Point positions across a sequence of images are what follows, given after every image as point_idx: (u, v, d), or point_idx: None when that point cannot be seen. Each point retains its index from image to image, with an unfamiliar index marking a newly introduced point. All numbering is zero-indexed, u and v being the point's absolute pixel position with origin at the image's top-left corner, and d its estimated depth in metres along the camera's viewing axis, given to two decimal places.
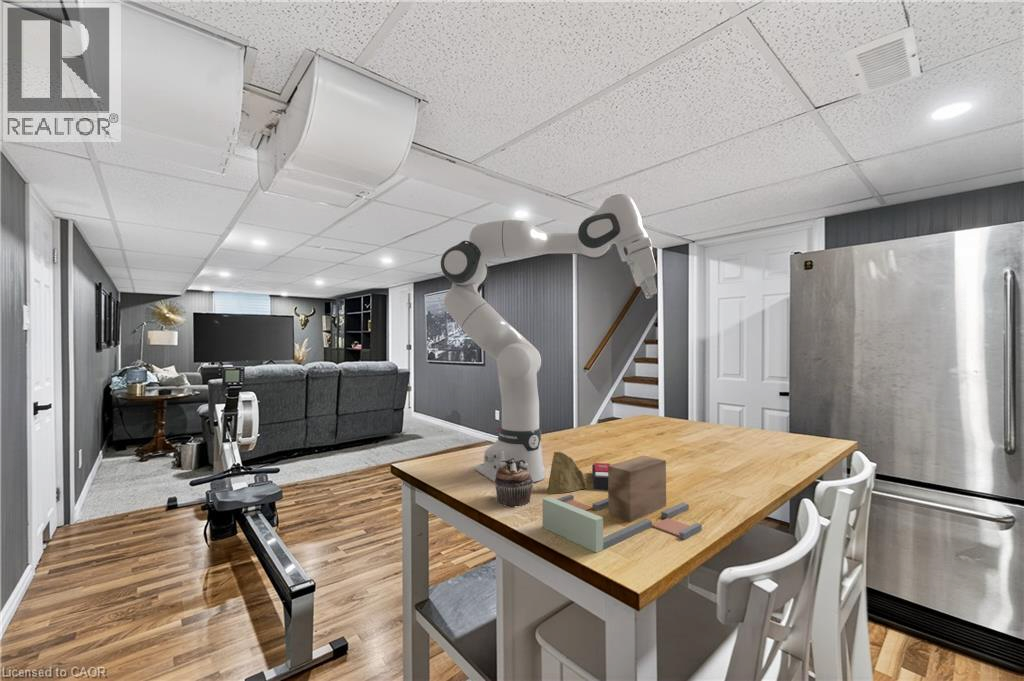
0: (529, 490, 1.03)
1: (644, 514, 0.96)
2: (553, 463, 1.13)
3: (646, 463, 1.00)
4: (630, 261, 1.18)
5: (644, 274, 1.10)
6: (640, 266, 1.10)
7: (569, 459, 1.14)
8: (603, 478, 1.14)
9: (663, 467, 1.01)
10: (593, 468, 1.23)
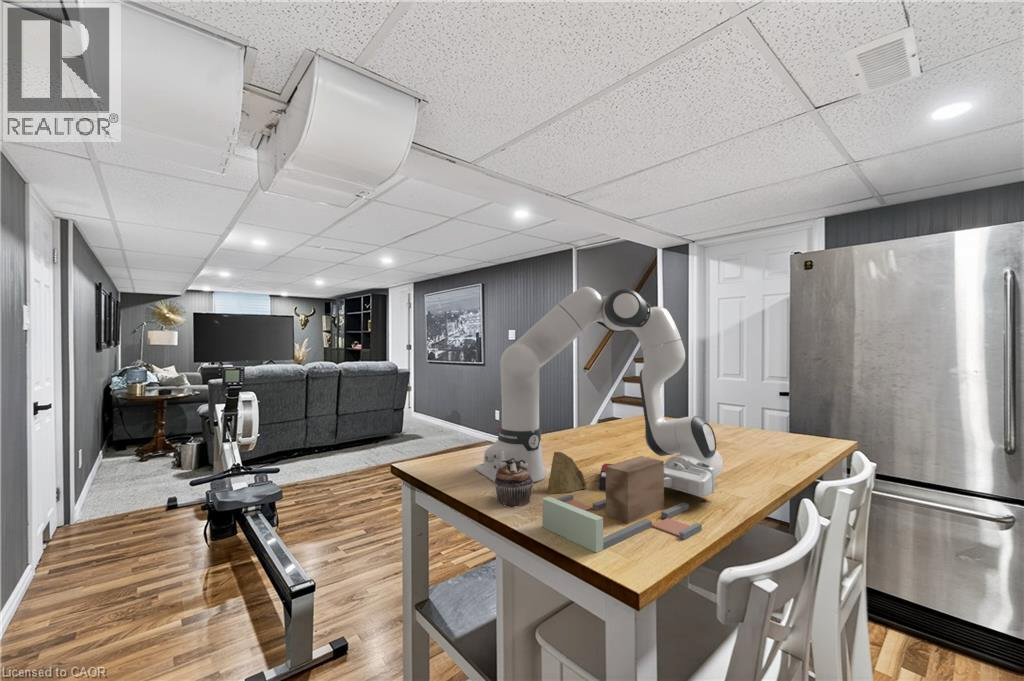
0: (529, 490, 1.03)
1: (642, 515, 0.95)
2: (553, 463, 1.14)
3: (644, 463, 0.99)
4: (682, 466, 1.09)
5: (702, 482, 0.99)
6: (707, 479, 1.00)
7: (569, 459, 1.14)
8: None
9: (661, 467, 1.00)
10: (601, 469, 1.23)
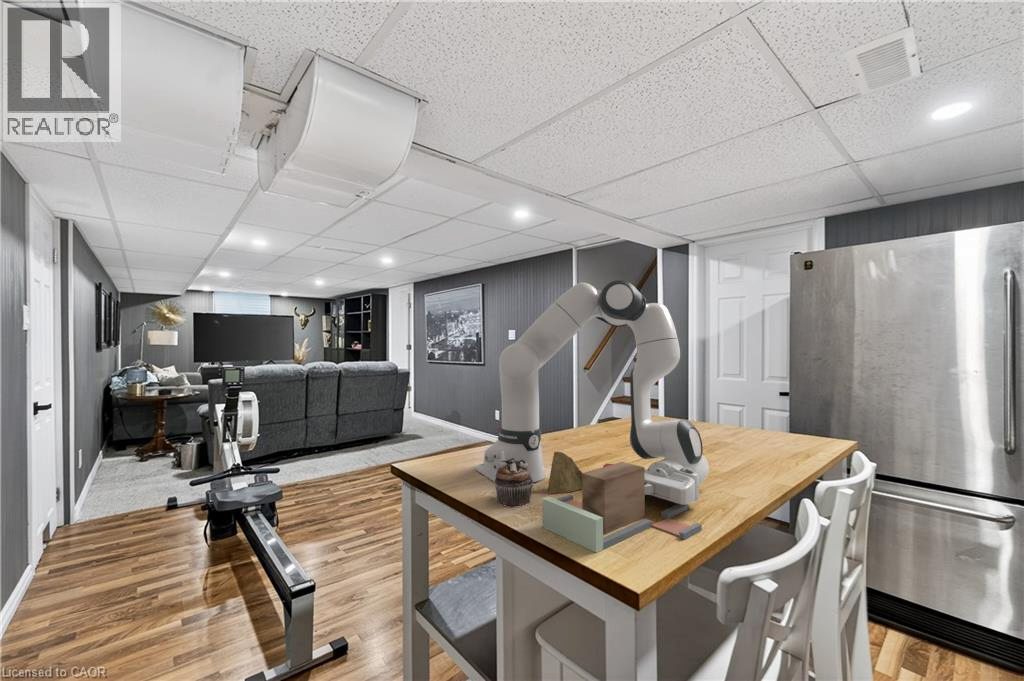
0: (529, 490, 1.03)
1: (620, 525, 0.90)
2: (553, 463, 1.13)
3: (623, 470, 0.94)
4: (665, 472, 1.04)
5: (684, 490, 0.94)
6: (690, 487, 0.95)
7: (569, 459, 1.14)
8: None
9: (641, 474, 0.95)
10: None
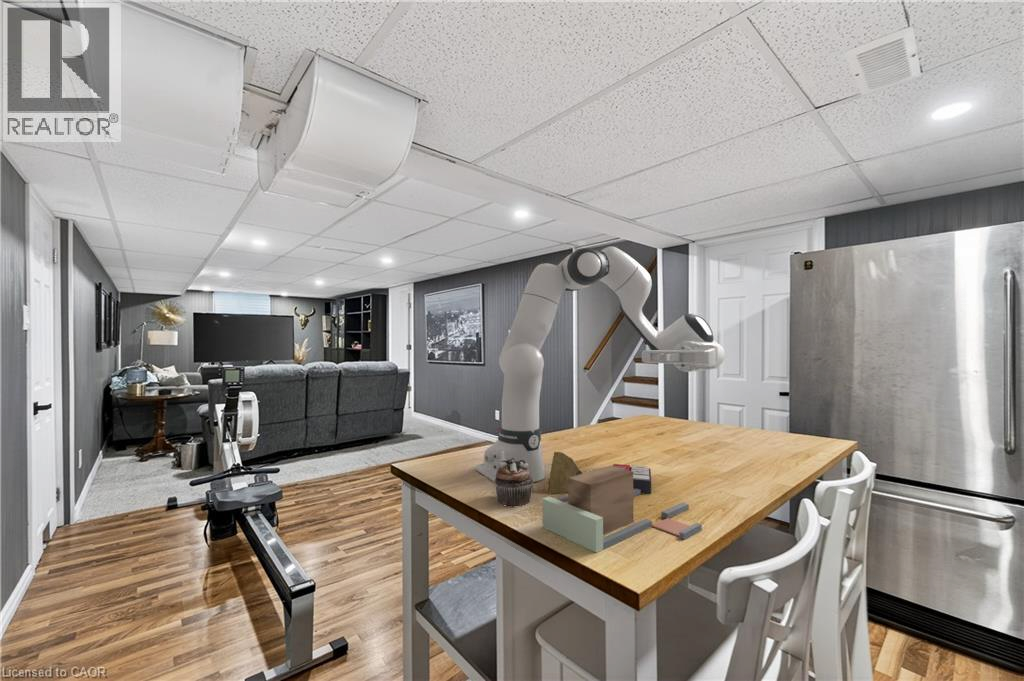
0: (529, 490, 1.03)
1: (607, 531, 0.87)
2: (553, 463, 1.13)
3: (611, 474, 0.91)
4: (689, 347, 1.21)
5: (707, 352, 1.11)
6: (711, 351, 1.12)
7: (569, 459, 1.14)
8: None
9: (630, 479, 0.92)
10: None
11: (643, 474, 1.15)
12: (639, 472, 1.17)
